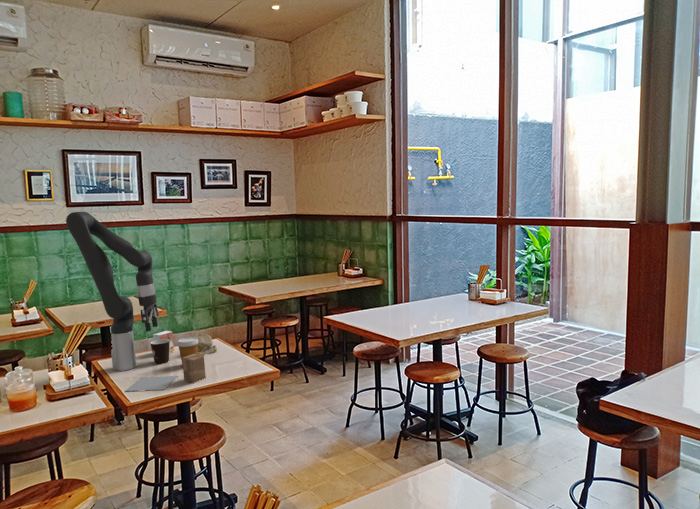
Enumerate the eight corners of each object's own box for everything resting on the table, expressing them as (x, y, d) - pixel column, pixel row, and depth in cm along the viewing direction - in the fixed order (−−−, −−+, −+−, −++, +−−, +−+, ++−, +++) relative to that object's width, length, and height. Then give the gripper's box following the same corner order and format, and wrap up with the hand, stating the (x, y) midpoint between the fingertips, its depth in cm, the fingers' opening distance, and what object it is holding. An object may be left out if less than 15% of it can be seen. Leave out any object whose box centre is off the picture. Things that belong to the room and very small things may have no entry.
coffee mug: (171, 363, 247) (169, 342, 246) (151, 366, 245) (149, 345, 244) (171, 356, 258) (170, 336, 257) (153, 359, 256) (151, 339, 255)
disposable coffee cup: (203, 361, 247) (201, 336, 246) (195, 368, 238) (193, 342, 237) (184, 362, 248) (181, 337, 247) (175, 368, 239) (173, 342, 238)
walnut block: (184, 381, 221) (182, 357, 220) (195, 376, 226) (193, 353, 225) (194, 383, 218) (192, 359, 217) (205, 378, 223) (203, 355, 222)
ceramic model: (188, 357, 256) (186, 337, 255) (187, 351, 266) (185, 332, 265) (218, 353, 260) (216, 333, 259) (215, 348, 271) (214, 328, 270)
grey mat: (125, 391, 212) (124, 390, 212) (141, 378, 228) (141, 377, 228) (164, 390, 211) (164, 389, 211) (177, 376, 227) (177, 375, 227)
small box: (161, 356, 261) (159, 335, 260) (154, 354, 264) (152, 334, 263) (174, 351, 267) (172, 331, 266) (167, 350, 270) (165, 330, 269)
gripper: (144, 292, 247) (149, 326, 249) (132, 298, 233) (138, 333, 234) (160, 290, 247) (165, 324, 249) (149, 296, 233) (154, 331, 235)
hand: (152, 329), depth 242 cm, fingers open, 8 cm apart
